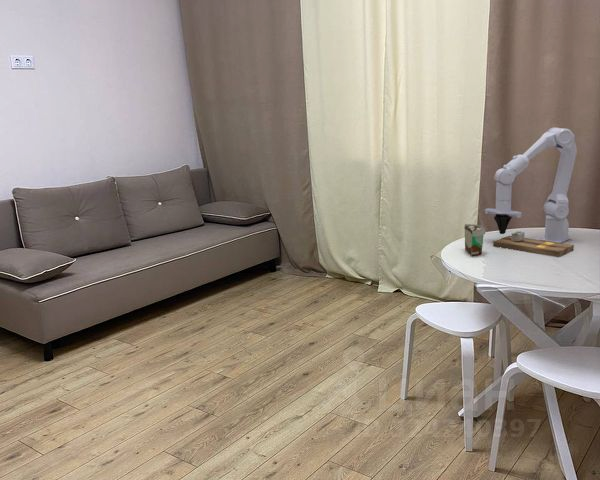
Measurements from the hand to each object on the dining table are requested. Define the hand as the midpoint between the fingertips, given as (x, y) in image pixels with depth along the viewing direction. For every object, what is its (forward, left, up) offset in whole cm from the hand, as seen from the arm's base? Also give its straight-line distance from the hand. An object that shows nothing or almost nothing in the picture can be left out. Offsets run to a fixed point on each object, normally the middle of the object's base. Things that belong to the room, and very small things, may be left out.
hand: (502, 233), depth 236 cm
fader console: (0, +13, -4) cm, 13 cm away
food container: (+18, 0, -4) cm, 18 cm away
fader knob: (0, +7, -2) cm, 7 cm away
